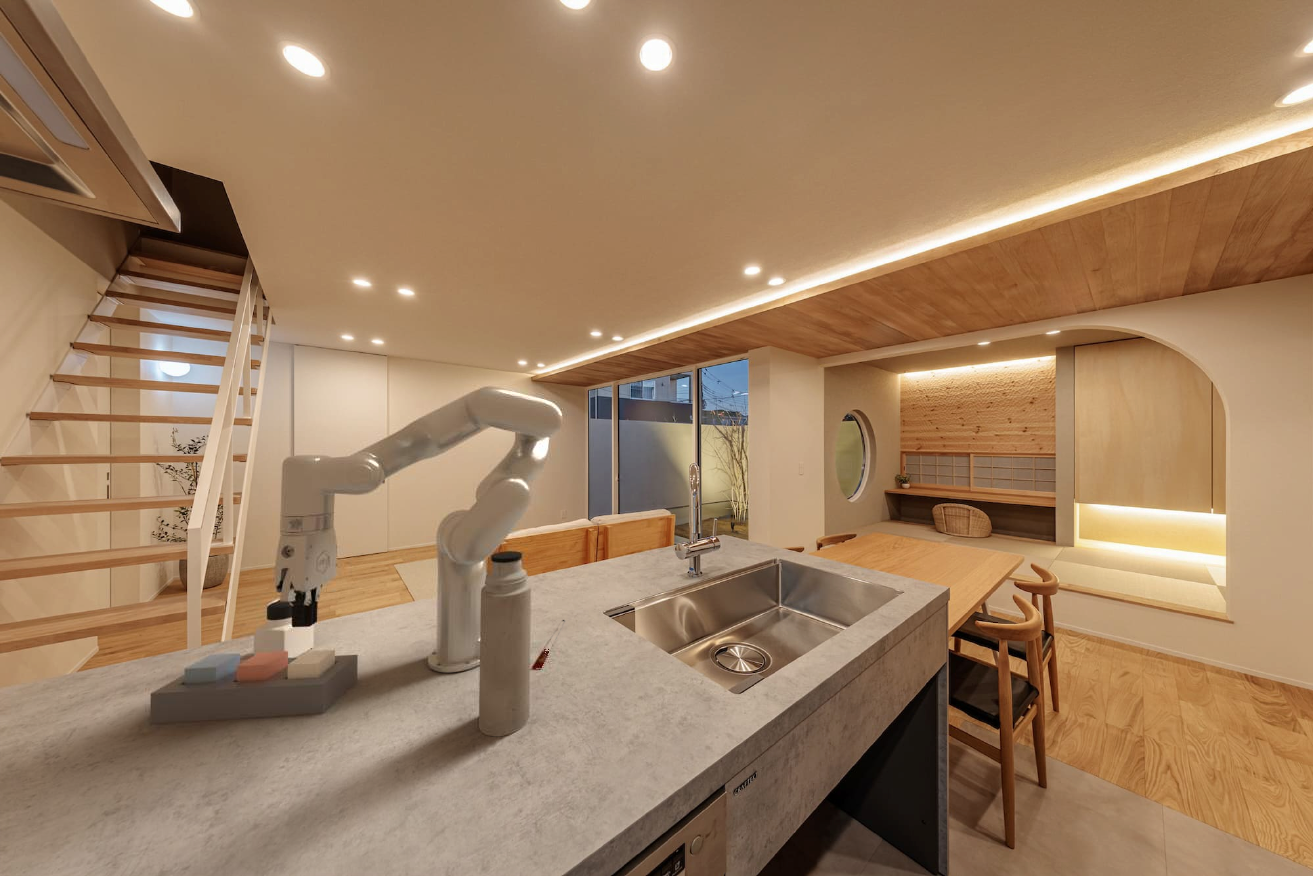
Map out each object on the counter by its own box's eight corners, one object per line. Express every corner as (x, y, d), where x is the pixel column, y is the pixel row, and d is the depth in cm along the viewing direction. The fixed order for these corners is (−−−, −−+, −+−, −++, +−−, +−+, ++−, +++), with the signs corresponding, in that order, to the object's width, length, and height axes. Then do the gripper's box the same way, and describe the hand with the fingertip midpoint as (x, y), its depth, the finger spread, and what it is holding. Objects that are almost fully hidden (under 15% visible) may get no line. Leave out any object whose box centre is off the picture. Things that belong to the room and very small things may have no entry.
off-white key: (334, 668, 79) (334, 649, 79) (317, 683, 75) (317, 663, 75) (306, 670, 79) (306, 651, 79) (287, 684, 74) (287, 664, 74)
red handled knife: (566, 621, 111) (566, 618, 111) (541, 671, 87) (541, 666, 87) (559, 621, 111) (559, 618, 111) (531, 671, 87) (531, 666, 87)
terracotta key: (287, 670, 78) (288, 651, 78) (267, 684, 74) (267, 664, 74) (259, 671, 78) (259, 652, 78) (236, 686, 73) (236, 666, 73)
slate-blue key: (239, 672, 77) (240, 653, 77) (215, 687, 73) (216, 667, 73) (210, 673, 77) (210, 654, 77) (184, 689, 72) (184, 668, 72)
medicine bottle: (314, 648, 95) (315, 594, 95) (283, 664, 88) (284, 606, 88) (285, 646, 96) (286, 592, 96) (252, 662, 88) (253, 604, 89)
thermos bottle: (500, 701, 76) (503, 545, 76) (538, 711, 74) (540, 550, 74) (467, 729, 69) (470, 557, 69) (508, 741, 66) (511, 562, 66)
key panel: (357, 680, 82) (357, 654, 82) (323, 713, 72) (323, 684, 72) (207, 688, 79) (207, 661, 79) (150, 724, 69) (150, 693, 69)
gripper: (301, 531, 70) (298, 643, 70) (353, 516, 85) (351, 608, 84) (250, 532, 69) (247, 645, 69) (312, 516, 84) (309, 609, 83)
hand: (304, 624), depth 76 cm, fingers closed
